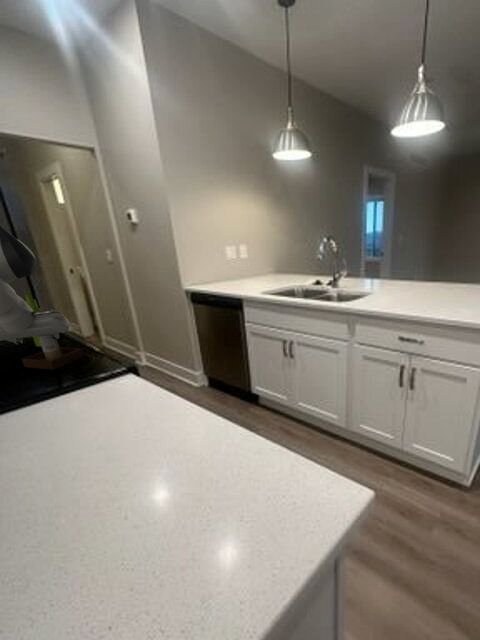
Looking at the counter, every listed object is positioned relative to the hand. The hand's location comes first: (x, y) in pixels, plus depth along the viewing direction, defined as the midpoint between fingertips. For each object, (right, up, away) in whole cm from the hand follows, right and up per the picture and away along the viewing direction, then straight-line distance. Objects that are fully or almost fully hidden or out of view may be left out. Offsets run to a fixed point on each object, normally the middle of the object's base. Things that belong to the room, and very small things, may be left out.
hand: (38, 339), depth 102 cm
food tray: (-2, -7, +9) cm, 12 cm away
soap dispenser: (-18, 0, +27) cm, 33 cm away
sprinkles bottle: (-2, -6, +9) cm, 11 cm away
